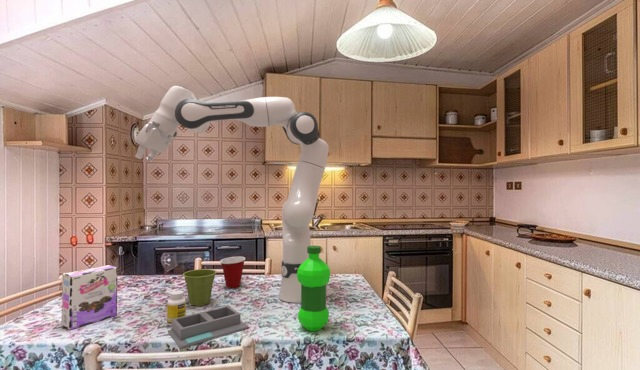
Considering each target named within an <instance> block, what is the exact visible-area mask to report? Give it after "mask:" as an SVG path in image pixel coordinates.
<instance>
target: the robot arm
mask: <svg viewBox="0 0 640 370" xmlns="http://www.w3.org/2000/svg"><path fill="white" fill-rule="evenodd" d="M295 107H296V106H295V104H294V102H293V101H292V99H290V98H289V97H285V96H263V97H254V98H250V99H249V98H248V99H244V100H234V101H233V100H231V101H230V100H229V101H214V102H207V101H202V100H198V99H197V98H196V96H195V94H194V92H193V91H192V90H191V89H189V88H186V87H185V86H181V85H173V86H171V87H170V88H169V89H168V91H166V93H165V95H164V96H163V98H162V99H161V101H160V103H159V107H158V108H157V109H156V110H155V111H154V114H152V117H151V118H150V120H149V121H148V123H146V124H145V125H144V126H143V127H142V129H141V130H140V132H139V133H138V134H137V136H136V137H135V143H136V144H138V147H137V152H136V154H135V158H136V159H139V160H142V159H143V158H144V153H145V151H146V150H147V149H149V150H150V153H149V154H148V155H147V156H146V158H145V160H146V161H147V162H149V163H151V162H153V160H154V159H155V158H156V157H157V156H158V154H159V153H160V154H164V153H165V152H166V151H167V150H168V148H169V146H170V145H171V143H172V142H173V139H175V138H176V137H177V135H178V131H177V130H178V127H179V125H180V126H182V127H184V128H186V129H187V130H188V131H190V132H192V133H197V134H201V133H205V132H206V131H207V130H208V129H209V128H210V126H211V122H218V121H239V122H243V123H244V124H246V125H248V126H250V127H259V128H264V127H265V128H266V127H273V126H281V127H282V130H283V131H284V134H285V136H286V137H287V139H288V140H289V142H290V143H292V144H295V145H298V146H300V148H301V149H300V155H299V158H298V161H297V164H296V168H295V171H294V174H293V177H292V180H291V185H290V188H289V193H288V197H287V200H285V201H284V203H283V204H282V208H281V229H282V230H281V232H282V233H281V234H282V259H281V260H282V261H281V269H280V270H281V283H280V287H279V288H280V290H279V293H278V297H277V298H278V299H279V300H281V301H283V302H287V303H295V304H296V303H299V304H301V284H300V282H299V281H298V278H297V271H298V269H299V267H300V265H301V264H302V263H303V262H304V261H305V260H307V259H308V258H309V253H307V247H308V246H312V244H311V243H312V242H311V231H310V224H311V222H312V221H313V219H314V213H315V211H316V210H315V209H316V205H317V201H318V195H319V189H320V186H321V183H322V179H323V176H324V172H325V169H326V166H327V162H328V157H329V148H330V147H329V145H328V143H327V142H326V141H325V140H324V139H322V138H320V137H321V136H320V135H321V134H320V130H319V125H318V120H317V119H316V117H315V115H313V114H312V113H311V112H307V111H300V112H297V111H296V108H295ZM331 295H334V290H333V289H332V288H330V287H329V286H328V283H327V284H326V298H327V297H329V296H331Z"/></svg>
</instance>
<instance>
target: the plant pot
mask: <svg viewBox="0 0 640 370" xmlns="http://www.w3.org/2000/svg"><path fill="white" fill-rule="evenodd" d="M217 273H218V271H217V270H216V269H210V268H207V269H206V268H201V269H200V268H199V269H193V270H188V271H185V272H183V274H182V276H183V277H184V282H185V283H186V284H185V285H186V290H187V295H188V296H187V298H188V303H189V305H190V306H196V307H200V306H205V305H207V304H209V303H210V301H211V298H212V297H211V296H212V292H213V291H212V290H213V285H214V280H215V278H216V277H215V276H216V275H217Z"/></svg>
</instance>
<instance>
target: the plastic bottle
mask: <svg viewBox="0 0 640 370" xmlns="http://www.w3.org/2000/svg"><path fill="white" fill-rule="evenodd" d="M307 253H309V258H308V259H307V260H305V261H304V262H303V263H302V264H301V265H300V267H299V269H298V271H297V278H298V281H299V282H300V284H301V303H300V305H301V306H300V308H299V311H298V314H297V320H298V322H299V324H300V325H301V326H303V328H304V329H305V328H306V329H305V330H306V331H309V330H310V332H317V331H316V330H318V331H320V330H322V329H321V328H324V327H326V325H327V324H328V322H329V321H330V320H329V319H330V318H329V317H330V311H329V308H328V306H327V297H326V284H327V285H328V284H329V282H330V278H331V268H330V266H329V265H328V264H327V263H326V262H325V260H323V259H321V258H320V254H322V249H321V245H311V246H308V247H307ZM319 329H320V330H319Z"/></svg>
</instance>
